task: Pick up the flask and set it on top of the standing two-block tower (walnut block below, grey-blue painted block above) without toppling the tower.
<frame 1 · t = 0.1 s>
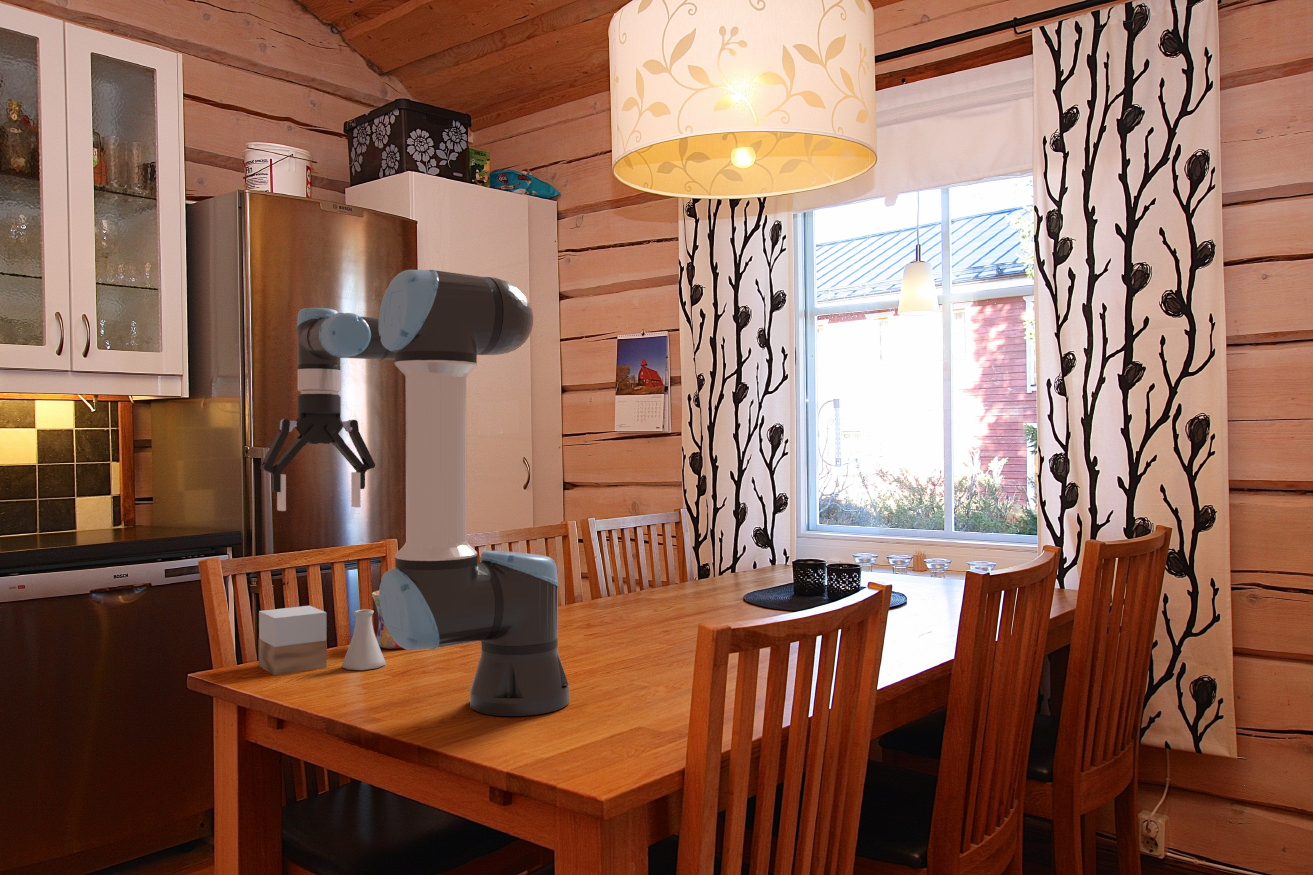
hand: (319, 508, 180), 28 cm above the table, fingers open, 13 cm apart
block bottom: (292, 667, 175), on the table, touching block top
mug: (402, 645, 193), on the table
block top: (292, 639, 175), point 5 cm above the table, touching block bottom
flask: (364, 667, 175), on the table
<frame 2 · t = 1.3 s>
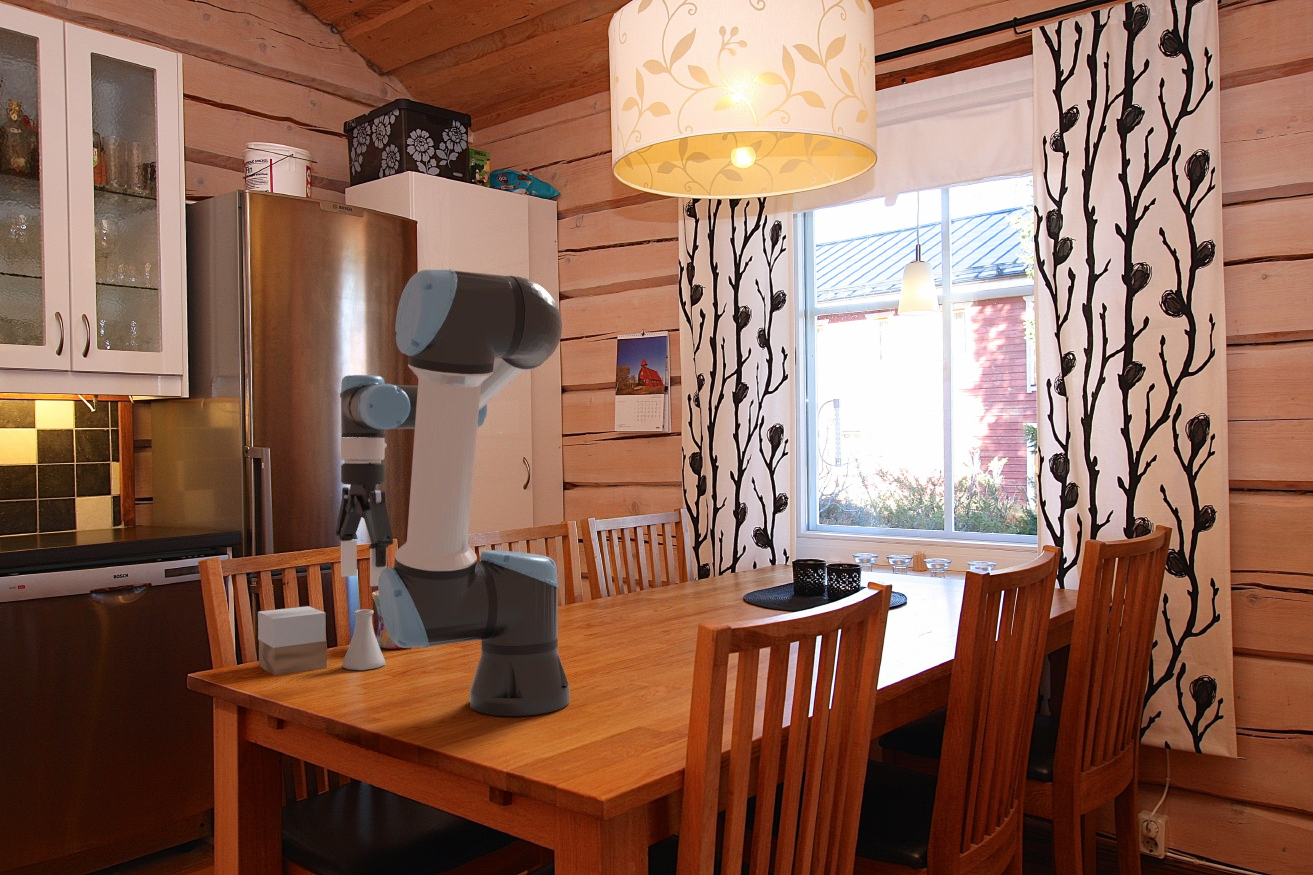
hand: (363, 580, 175), 15 cm above the table, fingers open, 13 cm apart
nothing on the table moved.
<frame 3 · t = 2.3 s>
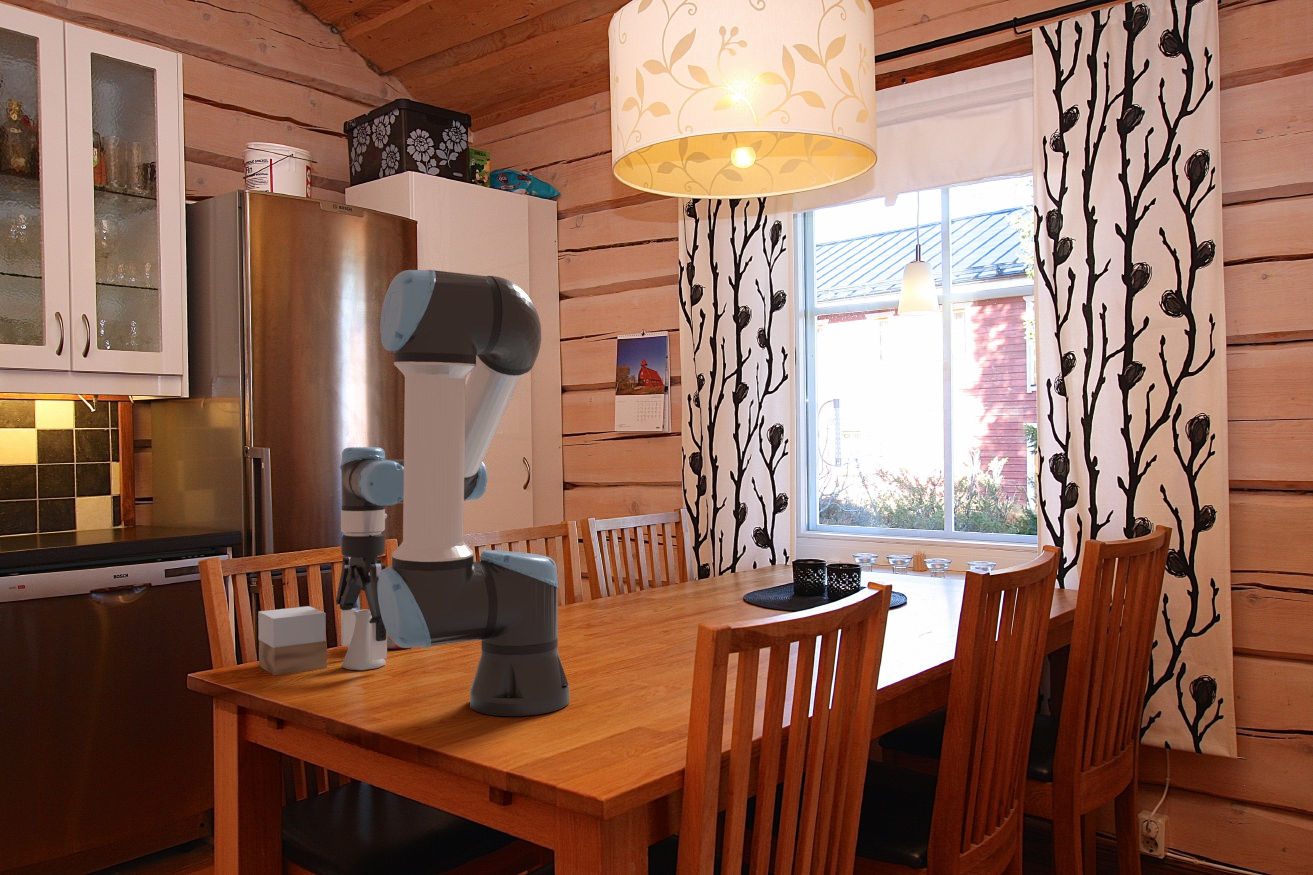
hand: (363, 651, 175), 2 cm above the table, fingers open, 13 cm apart
nothing on the table moved.
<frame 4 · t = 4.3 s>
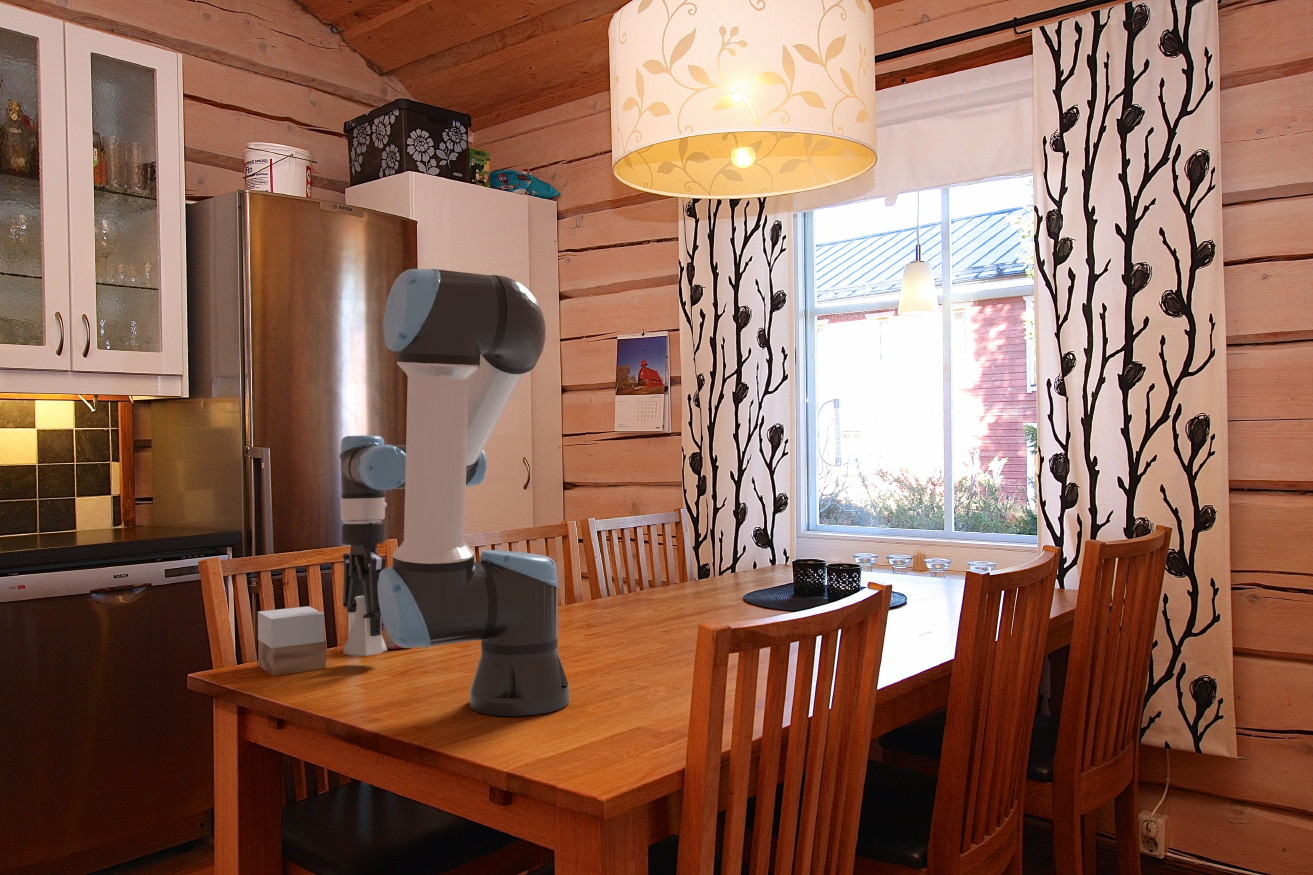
hand: (365, 650, 175), 3 cm above the table, fingers closed on flask, 7 cm apart
flask: (365, 653, 175), point 2 cm above the table, touching gripper
everything else where it was.
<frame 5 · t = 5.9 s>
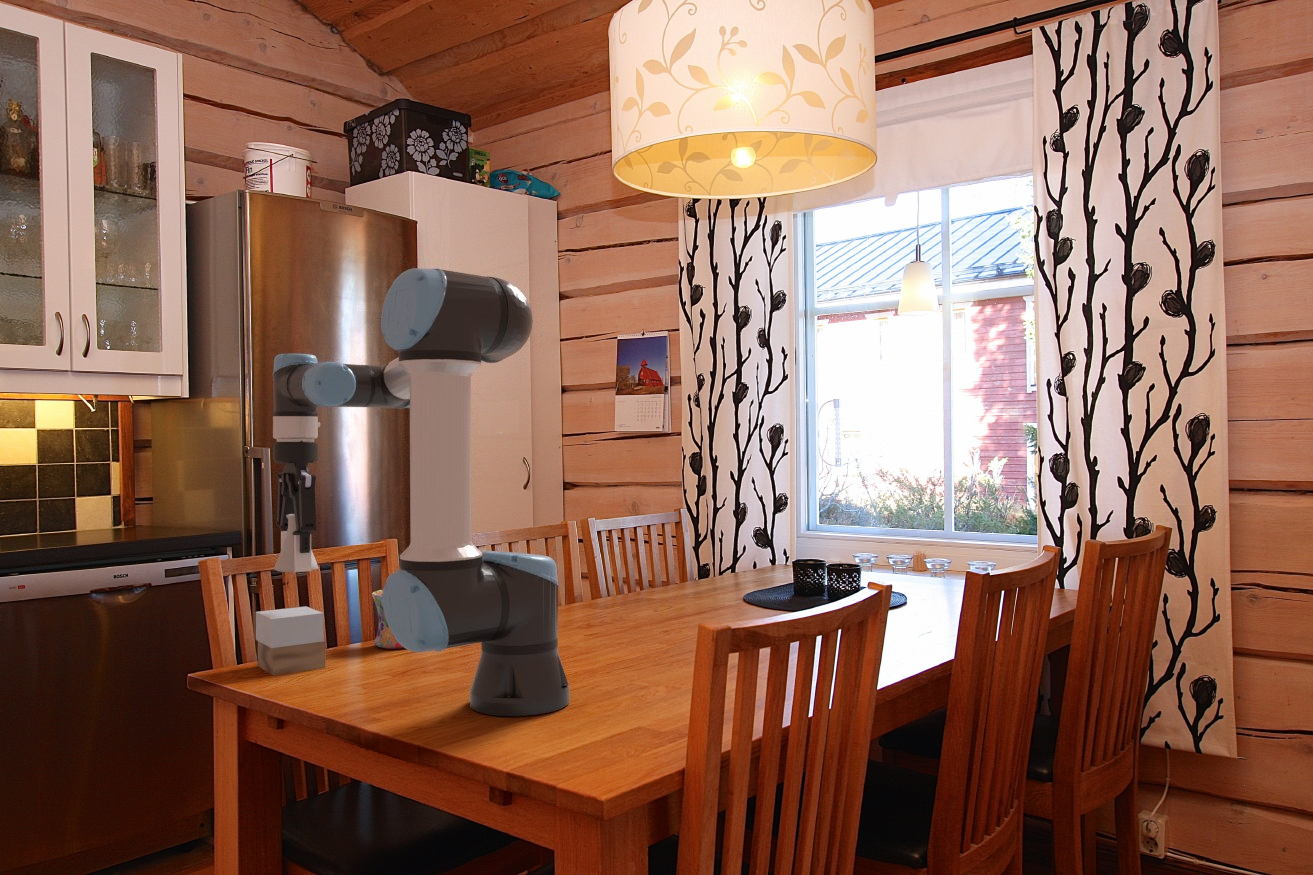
hand: (296, 568, 175), 17 cm above the table, fingers closed on flask, 7 cm apart
flask: (296, 571, 176), point 17 cm above the table, touching gripper
everything else where it was.
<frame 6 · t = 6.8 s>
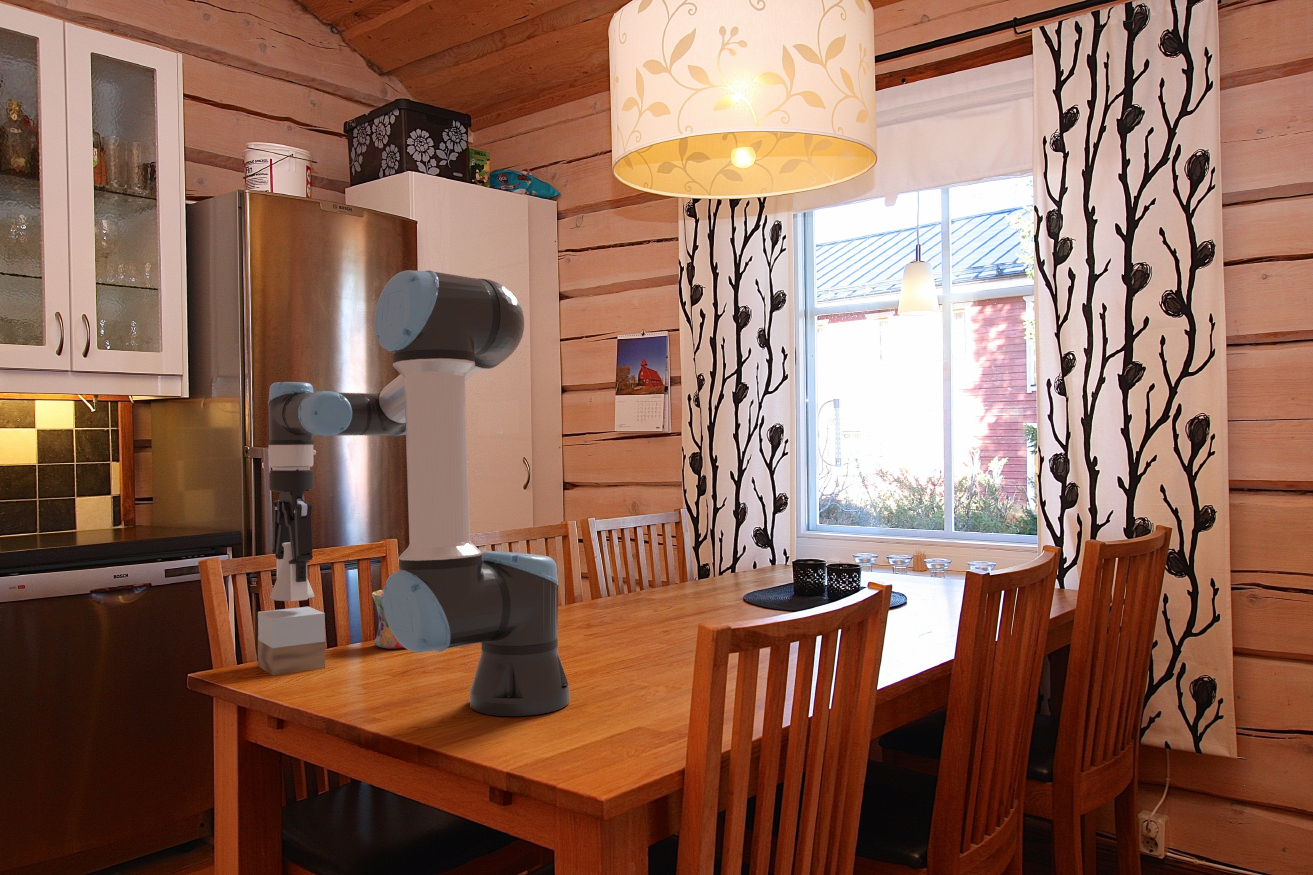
hand: (291, 597, 175), 12 cm above the table, fingers closed on flask, 7 cm apart
flask: (292, 599, 175), point 12 cm above the table, touching gripper
everything else where it was.
when the fingers open (11 cm above the table, at t = 7.7 s): flask drops 1 cm, resting on block top.
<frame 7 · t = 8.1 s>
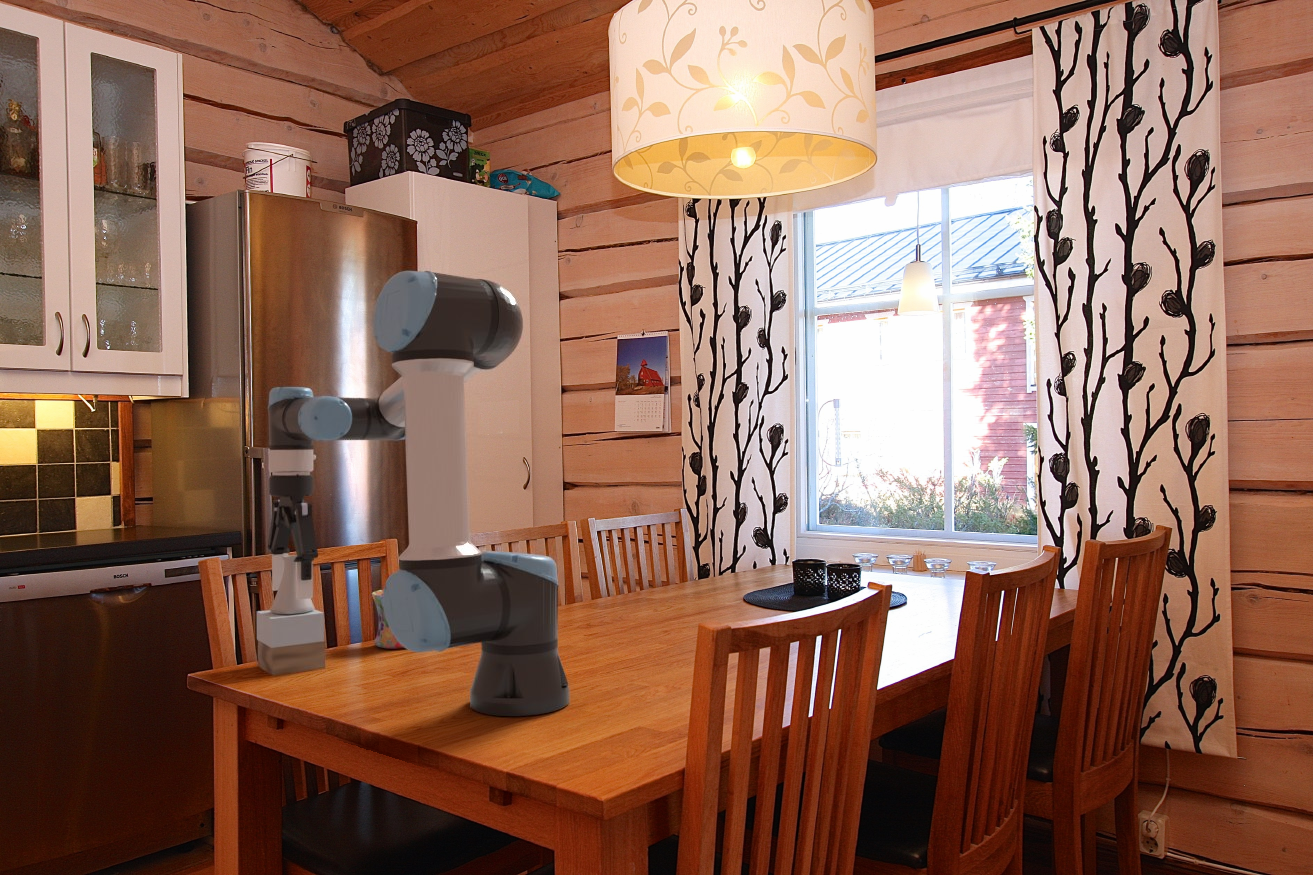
hand: (292, 594, 175), 13 cm above the table, fingers open, 12 cm apart
block top: (290, 640, 175), point 5 cm above the table, touching block bottom, flask
flask: (292, 612, 175), point 10 cm above the table, touching block top
everything else where it was.
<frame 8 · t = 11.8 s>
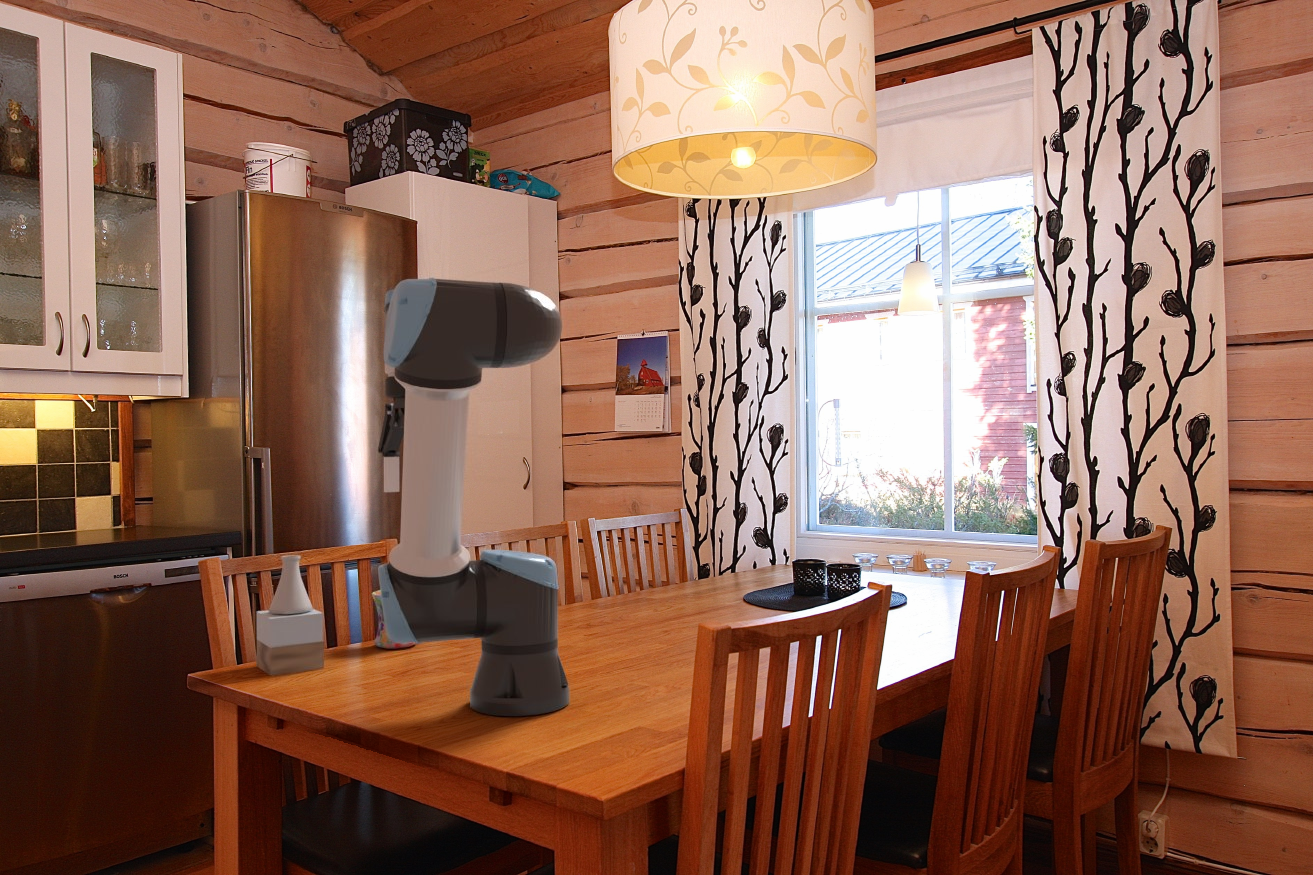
hand: (407, 493, 177), 31 cm above the table, fingers open, 13 cm apart
nothing on the table moved.
at the end: flask inside the target area on the block top (0.2 cm from its centre), point 4.8 cm above the block top's base; block top 0.1 cm off-centre on the block bottom, point 5.0 cm above the block bottom's base; flask tilted 0° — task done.
